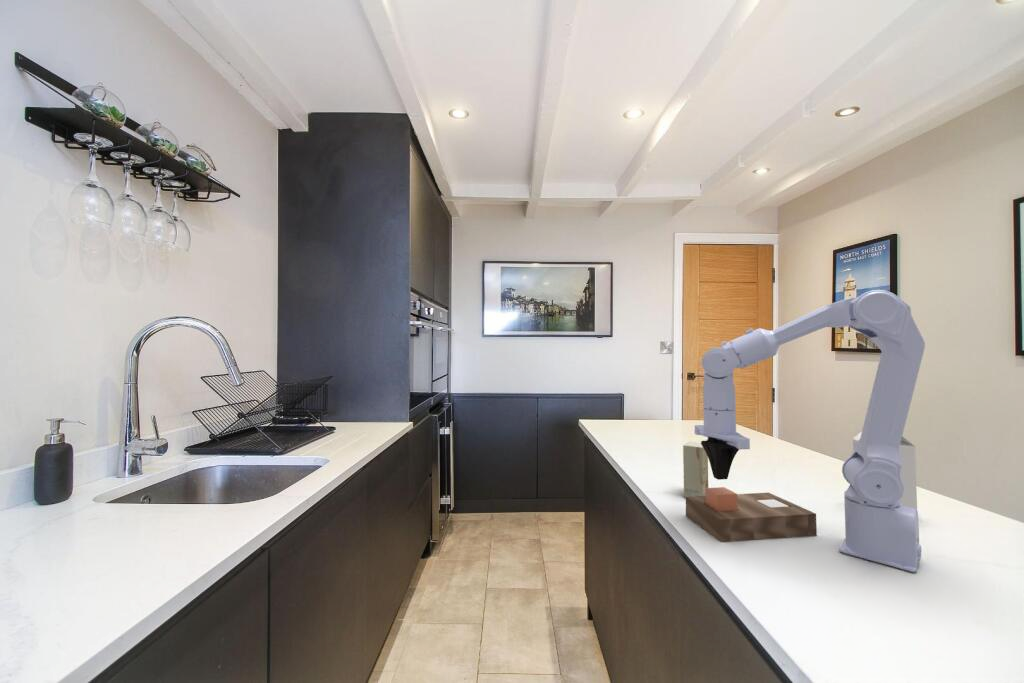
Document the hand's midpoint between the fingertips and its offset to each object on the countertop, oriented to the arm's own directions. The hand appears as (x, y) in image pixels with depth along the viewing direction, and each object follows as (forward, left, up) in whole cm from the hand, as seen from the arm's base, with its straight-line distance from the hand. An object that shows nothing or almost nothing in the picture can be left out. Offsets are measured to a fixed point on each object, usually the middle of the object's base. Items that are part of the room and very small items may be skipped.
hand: (720, 478), depth 82 cm
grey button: (-6, -9, -9) cm, 14 cm away
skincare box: (+11, -15, -10) cm, 21 cm away
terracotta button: (0, 0, -6) cm, 6 cm away
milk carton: (-21, -32, -10) cm, 39 cm away
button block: (-3, -5, -9) cm, 11 cm away
